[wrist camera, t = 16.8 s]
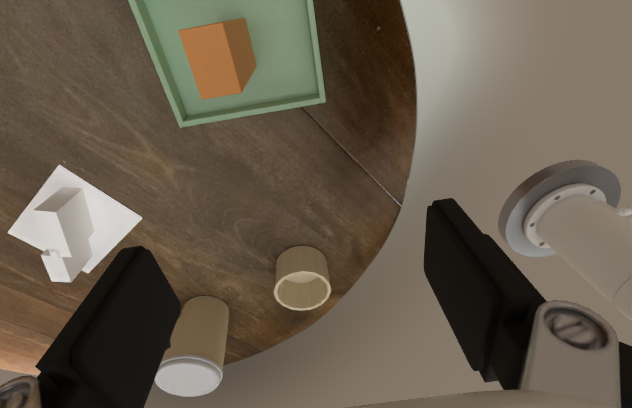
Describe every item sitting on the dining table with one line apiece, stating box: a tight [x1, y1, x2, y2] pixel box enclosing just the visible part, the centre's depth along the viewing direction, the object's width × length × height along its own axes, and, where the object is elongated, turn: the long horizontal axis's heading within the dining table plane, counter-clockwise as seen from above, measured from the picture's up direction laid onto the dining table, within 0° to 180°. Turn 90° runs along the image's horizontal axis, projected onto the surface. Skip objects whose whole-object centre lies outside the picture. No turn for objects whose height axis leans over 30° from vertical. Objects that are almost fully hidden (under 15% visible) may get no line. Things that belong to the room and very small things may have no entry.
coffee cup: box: [155, 296, 229, 396], centre depth 48 cm, size 9×9×12 cm
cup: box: [274, 246, 331, 311], centre depth 47 cm, size 8×8×6 cm
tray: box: [128, 0, 326, 127], centre depth 31 cm, size 16×13×2 cm
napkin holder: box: [7, 165, 142, 282], centre depth 40 cm, size 15×11×6 cm
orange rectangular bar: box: [178, 18, 257, 100], centre depth 26 cm, size 3×4×12 cm, turn 8°
